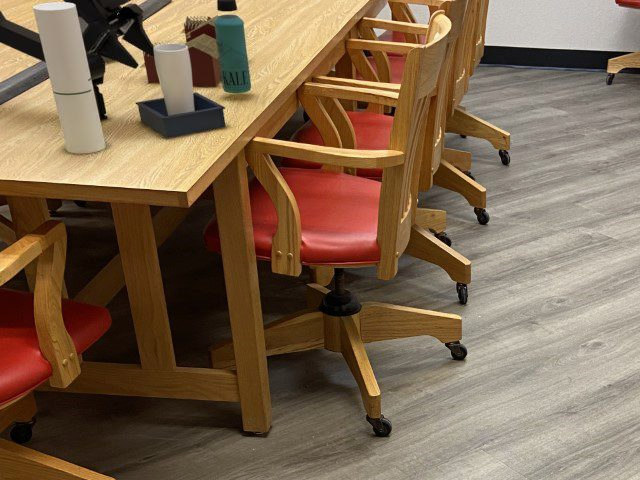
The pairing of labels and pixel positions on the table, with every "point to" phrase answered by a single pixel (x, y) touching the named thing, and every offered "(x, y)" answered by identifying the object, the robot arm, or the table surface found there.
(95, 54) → the robot arm
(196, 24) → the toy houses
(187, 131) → the dark blue square tray
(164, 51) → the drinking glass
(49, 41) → the cylindrical container
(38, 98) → the table surface
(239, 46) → the beverage bottle
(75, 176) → the table surface
